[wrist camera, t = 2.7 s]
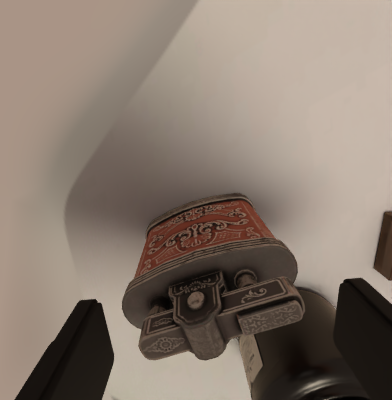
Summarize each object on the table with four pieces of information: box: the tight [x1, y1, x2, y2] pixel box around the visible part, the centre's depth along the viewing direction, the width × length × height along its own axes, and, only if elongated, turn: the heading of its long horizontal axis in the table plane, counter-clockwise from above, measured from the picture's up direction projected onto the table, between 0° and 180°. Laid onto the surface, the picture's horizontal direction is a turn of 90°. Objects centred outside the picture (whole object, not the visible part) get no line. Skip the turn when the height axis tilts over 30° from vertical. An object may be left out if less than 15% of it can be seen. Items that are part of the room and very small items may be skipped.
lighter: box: [122, 193, 305, 360], centre depth 13 cm, size 8×3×10 cm, turn 109°
